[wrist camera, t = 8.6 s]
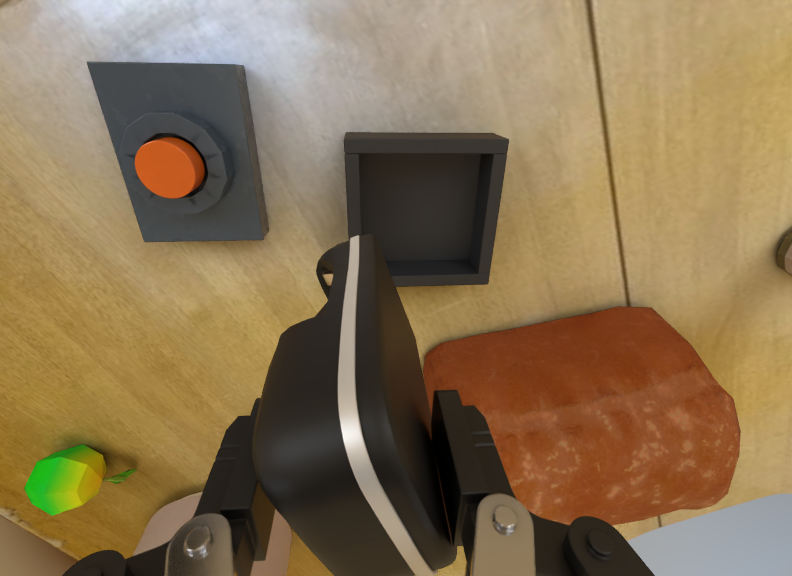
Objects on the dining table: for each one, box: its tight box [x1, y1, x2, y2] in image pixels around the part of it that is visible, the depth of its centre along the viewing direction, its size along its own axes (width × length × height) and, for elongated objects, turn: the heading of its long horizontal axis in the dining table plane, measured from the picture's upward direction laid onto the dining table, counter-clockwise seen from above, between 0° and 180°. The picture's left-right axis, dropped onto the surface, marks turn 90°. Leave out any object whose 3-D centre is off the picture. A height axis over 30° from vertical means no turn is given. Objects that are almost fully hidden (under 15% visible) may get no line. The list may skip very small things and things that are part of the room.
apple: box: [24, 444, 137, 515], centre depth 40 cm, size 7×6×9 cm
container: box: [133, 492, 292, 576], centre depth 45 cm, size 18×18×12 cm
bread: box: [423, 307, 741, 526], centre depth 36 cm, size 17×24×15 cm
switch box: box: [87, 62, 269, 242], centre depth 27 cm, size 12×9×4 cm
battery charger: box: [252, 234, 457, 576], centre depth 14 cm, size 7×4×11 cm, turn 19°
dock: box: [344, 132, 509, 287], centre depth 30 cm, size 12×12×4 cm
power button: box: [135, 137, 205, 199], centre depth 25 cm, size 4×4×2 cm
